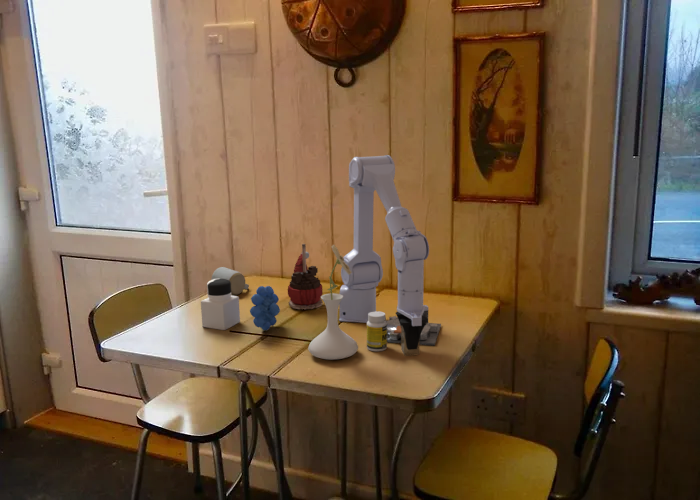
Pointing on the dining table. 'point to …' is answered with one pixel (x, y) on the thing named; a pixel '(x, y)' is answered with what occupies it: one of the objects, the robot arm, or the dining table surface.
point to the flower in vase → (333, 325)
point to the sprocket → (395, 327)
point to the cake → (304, 285)
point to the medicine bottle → (220, 306)
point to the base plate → (429, 341)
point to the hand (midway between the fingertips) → (410, 345)
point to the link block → (404, 346)
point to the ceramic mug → (231, 279)
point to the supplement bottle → (376, 331)
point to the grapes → (264, 307)
